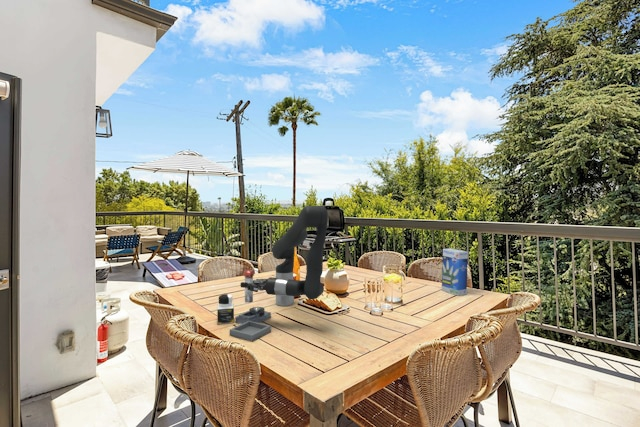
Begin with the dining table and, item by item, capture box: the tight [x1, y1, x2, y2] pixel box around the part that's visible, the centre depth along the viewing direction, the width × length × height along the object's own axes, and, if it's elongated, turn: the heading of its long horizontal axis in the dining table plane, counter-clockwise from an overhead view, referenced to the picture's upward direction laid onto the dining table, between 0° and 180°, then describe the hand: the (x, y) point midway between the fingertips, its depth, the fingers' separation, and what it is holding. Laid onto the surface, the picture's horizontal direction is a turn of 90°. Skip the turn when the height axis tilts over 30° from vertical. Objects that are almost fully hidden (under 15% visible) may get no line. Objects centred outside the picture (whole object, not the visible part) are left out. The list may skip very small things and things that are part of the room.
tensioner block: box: [234, 306, 272, 325], centre depth 161 cm, size 13×10×5 cm
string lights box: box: [441, 247, 469, 297], centre depth 209 cm, size 13×8×26 cm, turn 25°
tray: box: [229, 321, 272, 343], centre depth 145 cm, size 12×12×2 cm
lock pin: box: [243, 269, 255, 304], centre depth 158 cm, size 5×5×14 cm
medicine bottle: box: [216, 293, 235, 325], centre depth 159 cm, size 7×7×12 cm
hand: (243, 283), depth 158 cm, fingers closed on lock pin, 3 cm apart
